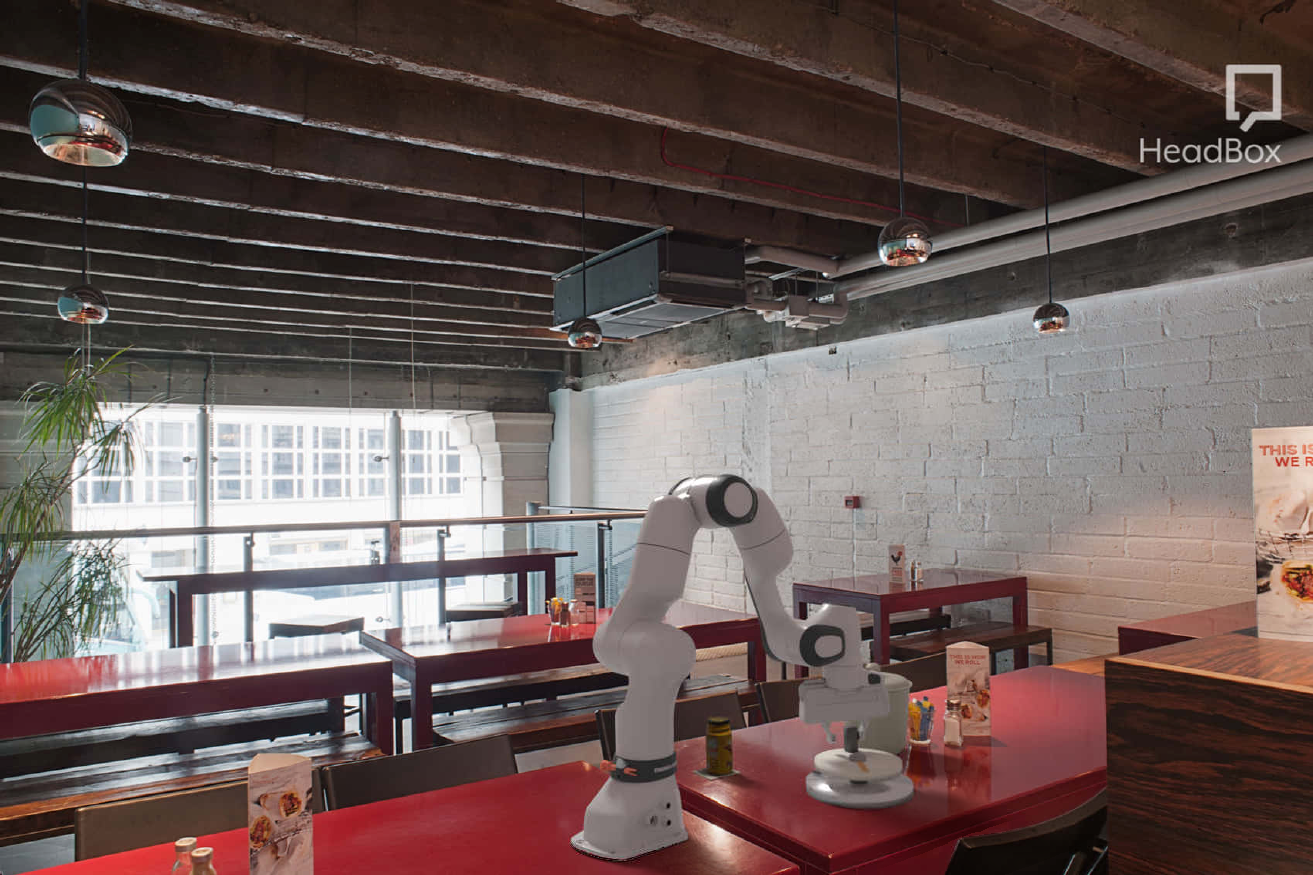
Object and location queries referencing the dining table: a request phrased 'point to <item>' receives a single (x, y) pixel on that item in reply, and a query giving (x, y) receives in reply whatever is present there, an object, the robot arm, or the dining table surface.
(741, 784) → the dining table surface
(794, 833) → the dining table surface
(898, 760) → the handwheel
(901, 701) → the canister
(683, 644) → the robot arm
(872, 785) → the disc
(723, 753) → the condiment
